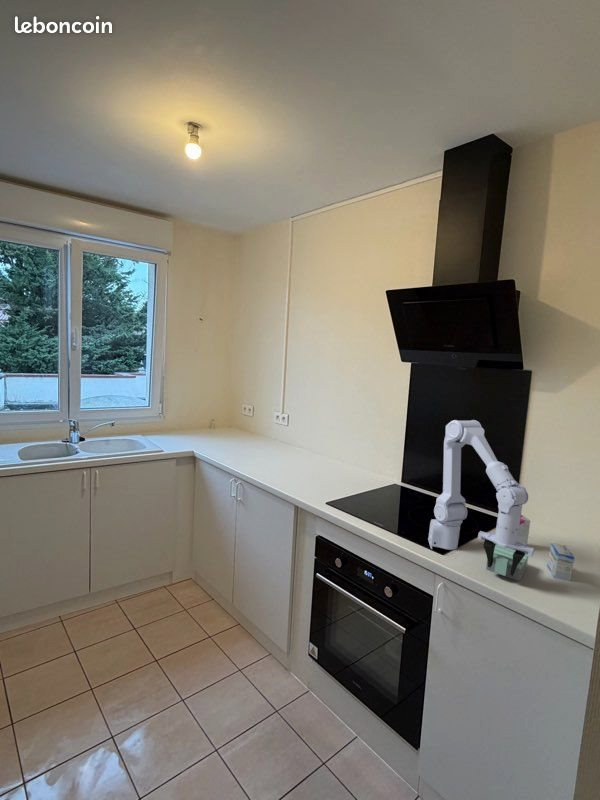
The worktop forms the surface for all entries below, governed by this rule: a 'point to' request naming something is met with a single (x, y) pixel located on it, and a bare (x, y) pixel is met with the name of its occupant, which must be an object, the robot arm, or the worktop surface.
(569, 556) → the medicine box
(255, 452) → the worktop surface
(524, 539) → the supplement box
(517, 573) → the tub
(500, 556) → the lid
